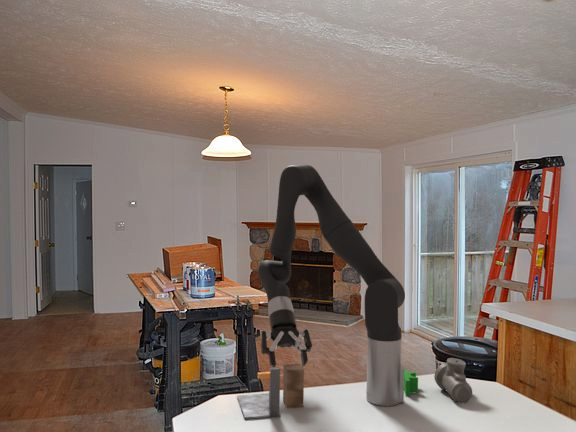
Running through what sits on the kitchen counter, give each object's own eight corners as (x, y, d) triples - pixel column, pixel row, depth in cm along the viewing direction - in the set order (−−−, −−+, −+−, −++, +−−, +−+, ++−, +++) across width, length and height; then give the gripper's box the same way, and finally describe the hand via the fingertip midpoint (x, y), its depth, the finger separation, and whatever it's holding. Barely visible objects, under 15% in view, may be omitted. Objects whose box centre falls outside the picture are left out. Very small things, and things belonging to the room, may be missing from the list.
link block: (299, 400, 136) (299, 363, 136) (303, 406, 131) (303, 368, 131) (283, 401, 135) (283, 364, 135) (286, 408, 130) (287, 369, 130)
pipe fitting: (432, 386, 147) (436, 353, 146) (459, 388, 147) (463, 355, 146) (445, 406, 135) (450, 370, 134) (474, 409, 135) (480, 373, 134)
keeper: (269, 395, 139) (269, 352, 139) (280, 416, 125) (281, 368, 125) (237, 397, 137) (237, 354, 137) (244, 419, 123) (245, 371, 123)
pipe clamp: (419, 397, 140) (419, 381, 140) (405, 397, 140) (406, 380, 140) (413, 383, 151) (414, 368, 151) (401, 383, 151) (401, 368, 151)
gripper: (259, 308, 145) (265, 359, 133) (307, 307, 148) (317, 357, 137) (256, 323, 150) (262, 373, 139) (302, 321, 153) (311, 370, 142)
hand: (289, 365), depth 138 cm, fingers open, 8 cm apart
